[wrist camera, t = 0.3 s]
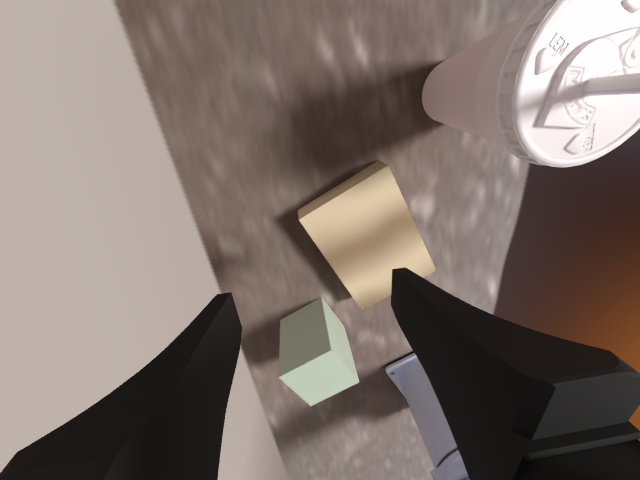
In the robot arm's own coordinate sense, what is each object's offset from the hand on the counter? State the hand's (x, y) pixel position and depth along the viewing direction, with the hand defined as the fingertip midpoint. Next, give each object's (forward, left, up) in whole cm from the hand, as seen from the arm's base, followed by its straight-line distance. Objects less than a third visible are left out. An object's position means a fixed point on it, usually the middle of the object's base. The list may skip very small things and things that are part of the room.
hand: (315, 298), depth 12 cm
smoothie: (+2, -13, -10) cm, 17 cm away
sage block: (-10, +5, -10) cm, 15 cm away
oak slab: (-4, -3, -10) cm, 11 cm away
